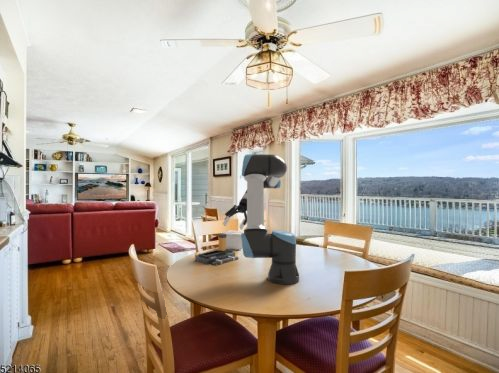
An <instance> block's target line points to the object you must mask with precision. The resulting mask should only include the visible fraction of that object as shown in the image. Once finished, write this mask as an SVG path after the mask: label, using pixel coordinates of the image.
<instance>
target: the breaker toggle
mask: <svg viewBox="0 0 499 373" xmlns="http://www.w3.org/2000/svg"><path fill="white" fill-rule="evenodd" d="M216 250H217V252H219V253H220V252H224V251H227V250H226V234H224V233H219V234H218V249H216Z"/></svg>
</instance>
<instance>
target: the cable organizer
mask: <svg viewBox="0 0 499 373" xmlns="http://www.w3.org/2000/svg"><path fill="white" fill-rule="evenodd" d="M242 233H244V230H242V231H241V230H227V231H226V232H224V233H223V234H226V249H230V250H234V249H235V251H239V250H243V248H242V239H241V234H242Z"/></svg>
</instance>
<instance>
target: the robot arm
mask: <svg viewBox="0 0 499 373" xmlns="http://www.w3.org/2000/svg"><path fill="white" fill-rule="evenodd" d="M287 169H288V166H287V163H286V161H285V160H284V159H283V158H282V157H280V156H278V155H276V154H264V153H263V154H261V153H259V154H255V153H250V154H245V155H244V157H243V160H242V167H241V176H242V177H244V181H246V190H245V192H244V194H243V196H242V198H241V199H240V200H239V203H238V205H236V204H234V205H233V206H232V207H231V208H230V209H229V210H228V211H226V212H225V214H224V215H225V218H224V221H223V223H222V225H223V226H224V227H227V225H228V222H230V219H231V217H233V216H234V215H236V214H243V216H244V218H243V219H242V222H241V223H240V226H239V228H240V231H241V230H242V231H243V232H244V233H242V234H241V239H242V254H243V256H244V258H248V259H264V258H265V259H271V264H270V268H269V270H268V274H267V279H268V280H269V281H270V282H272V283H273V284H279V285H294V284H297V283H298V282H300V273H299V270H298V267H297V262H296V260H297V259H296V258H297V236H296V235H295V234H294V233H292V232H290V231H286V230H278V229H276V230H275V229H273V230H272V231H271V233H268V229H267V228H266V227H265V205H264V204H265V203H264V200H265V197H264V191H265V190H264V189H280V188H281V185H282V184H281V178H282V177H284V176H285V175H286V173H287V171H288V170H287ZM245 226H246V227H245ZM244 227H245V228H244ZM243 229H244V230H243Z"/></svg>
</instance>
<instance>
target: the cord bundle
mask: <svg viewBox="0 0 499 373" xmlns="http://www.w3.org/2000/svg"><path fill="white" fill-rule="evenodd" d="M238 259H239V256H236V255H235V256H232V257H231V256H228V258H224V259H220V260H218V259H216V261H213V262H211V264H210V265H214V266H217V265H218V266H219V265H223V264H224V263H228V262H233V261H236V260H238Z"/></svg>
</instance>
